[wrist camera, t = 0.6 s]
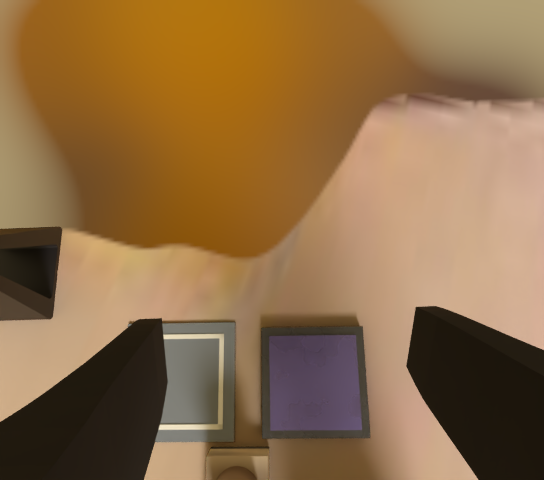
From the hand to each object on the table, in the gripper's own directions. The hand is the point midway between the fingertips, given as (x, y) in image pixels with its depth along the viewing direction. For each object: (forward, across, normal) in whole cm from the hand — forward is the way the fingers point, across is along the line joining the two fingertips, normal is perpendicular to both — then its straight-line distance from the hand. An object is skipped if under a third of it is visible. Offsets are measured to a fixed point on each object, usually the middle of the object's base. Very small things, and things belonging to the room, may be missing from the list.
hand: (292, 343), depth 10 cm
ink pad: (+16, -5, +15) cm, 23 cm away
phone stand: (+26, +22, +8) cm, 34 cm away
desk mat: (+18, +7, +16) cm, 25 cm away
